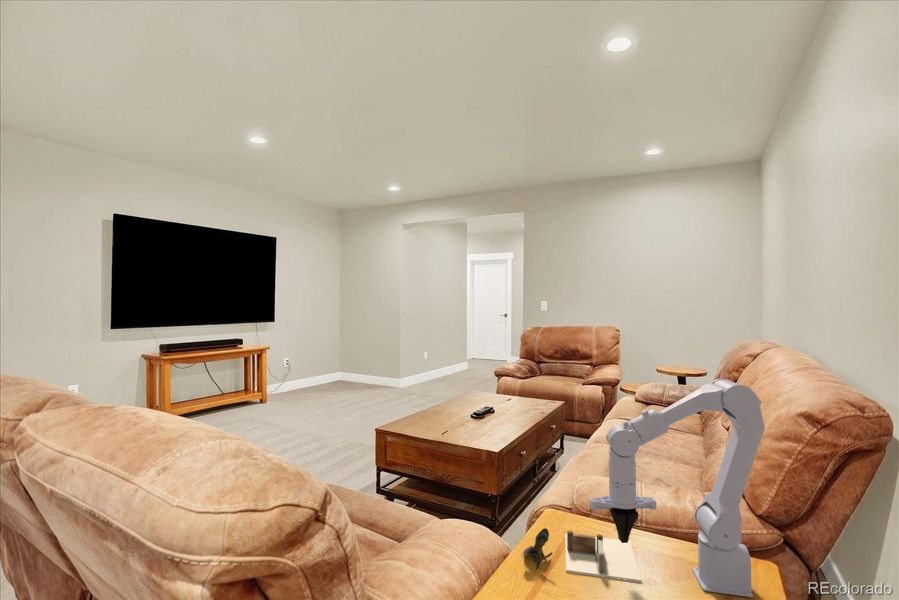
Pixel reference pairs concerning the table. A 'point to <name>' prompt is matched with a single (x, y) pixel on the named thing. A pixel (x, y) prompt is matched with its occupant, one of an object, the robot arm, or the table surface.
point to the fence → (582, 543)
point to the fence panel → (600, 556)
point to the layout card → (605, 561)
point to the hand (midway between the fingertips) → (623, 540)
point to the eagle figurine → (538, 548)
